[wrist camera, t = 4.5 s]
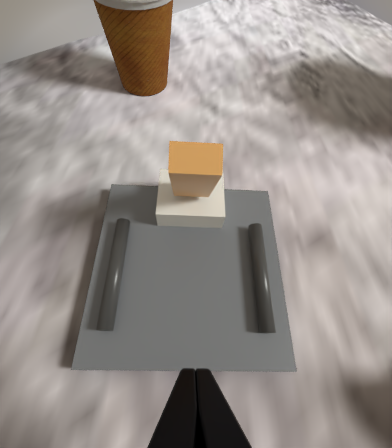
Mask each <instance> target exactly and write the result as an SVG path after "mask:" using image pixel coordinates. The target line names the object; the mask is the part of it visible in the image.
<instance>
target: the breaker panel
mask: <svg viewBox="0 0 392 448" xmlns="http://www.w3.org/2000/svg"><path fill="white" fill-rule="evenodd" d="M183 368H194V369H195V371H196V369H197V368H208V369H209V370H210V371H272V372H297V370H296V364H295V358H294V352H293V345H292V339H291V333H290V327H289V320H288V314H287V308H286V302H285V295H284V289H283V283H282V276H281V270H280V264H279V258H278V251H277V245H276V239H275V233H274V226H273V220H272V214H271V208H270V201H269V195H268V191H252V190H229V189H224V180H223V172H222V177H221V178H220V180H219V181H218V183H217V185H216V186H215V188H214V190H213V191H212V193H211V194H210V196H209V197H192V196H174V194H173V190H172V186H171V182H170V178H169V174H168V169H160V177H159V186H137V185H114V184H111V189H110V194H109V198H108V203H107V207H106V212H105V217H104V221H103V226H102V230H101V235H100V239H99V244H98V249H97V253H96V258H95V262H94V267H93V271H92V276H91V281H90V285H89V290H88V294H87V299H86V303H85V308H84V313H83V317H82V322H81V326H80V331H79V335H78V340H77V345H76V349H75V354H74V358H73V363H72V368H71V370H149V371H181V370H182V369H183Z"/></svg>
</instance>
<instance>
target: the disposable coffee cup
mask: <svg viewBox="0 0 392 448" xmlns="http://www.w3.org/2000/svg"><path fill="white" fill-rule="evenodd" d="M94 3H95V6H96V9H97V12H98V14H99V18H100V20H101V23H102V26H103V29H104V32H105V35H106V38H107V40H108V44H109V46H110V49H111V52H112V55H113V58H114V61H115V64H116V67H117V70H118V72H119V75H120V78H121V81H122V85H123V87H124V88H125V90H127V91H128V92H130V93H132V94H135V95H139V96H150V95H154V94H157V93H159V92H161V91H162V90H164V88H165V87H166V85H167V75H168V61H169V49H170V34H171V20H172V7H173V0H94Z"/></svg>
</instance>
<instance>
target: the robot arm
mask: <svg viewBox="0 0 392 448" xmlns="http://www.w3.org/2000/svg"><path fill="white" fill-rule="evenodd" d="M147 448H252V447H251V445H250V443H249V441H248V439H247V438H246V436H245V434H244V432H243V430H242V428H241V427H240V425H239V423H238V421H237V419H236V417H235V415H234V414H233V412H232V410H231V408H230V406H229V404H228V402H227V401H226V399H225V397H224V395H223V393H222V391H221V390H220V388H219V386H218V384H217V382H216V380H215V378H214V377H213V375H212V373H211V371H210V370H209V369H208V368H197V369H196V371H195V369H194V368H183V369H182V370H181V371H180V373H179V376H178V378H177V380H176V383H175V385H174V387H173V390H172V392H171V394H170V397H169V399H168V401H167V403H166V406H165V408H164V410H163V413H162V415H161V417H160V420H159V422H158V424H157V426H156V429H155V431H154V433H153V436H152V438H151V440H150V443H149V445H148V447H147Z"/></svg>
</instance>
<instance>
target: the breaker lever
mask: <svg viewBox="0 0 392 448" xmlns="http://www.w3.org/2000/svg"><path fill="white" fill-rule="evenodd" d="M222 164H223V144H216V143H197V142H178V141H170V143H169V168H168V174H169V178H170V182H171V186H172V190H173V194H174V196H192V197H209V196H210V194H211V193H212V191H213V190H214V188H215V186H216V185H217V183H218V181H219V180H220V178H221V177H222Z"/></svg>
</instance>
